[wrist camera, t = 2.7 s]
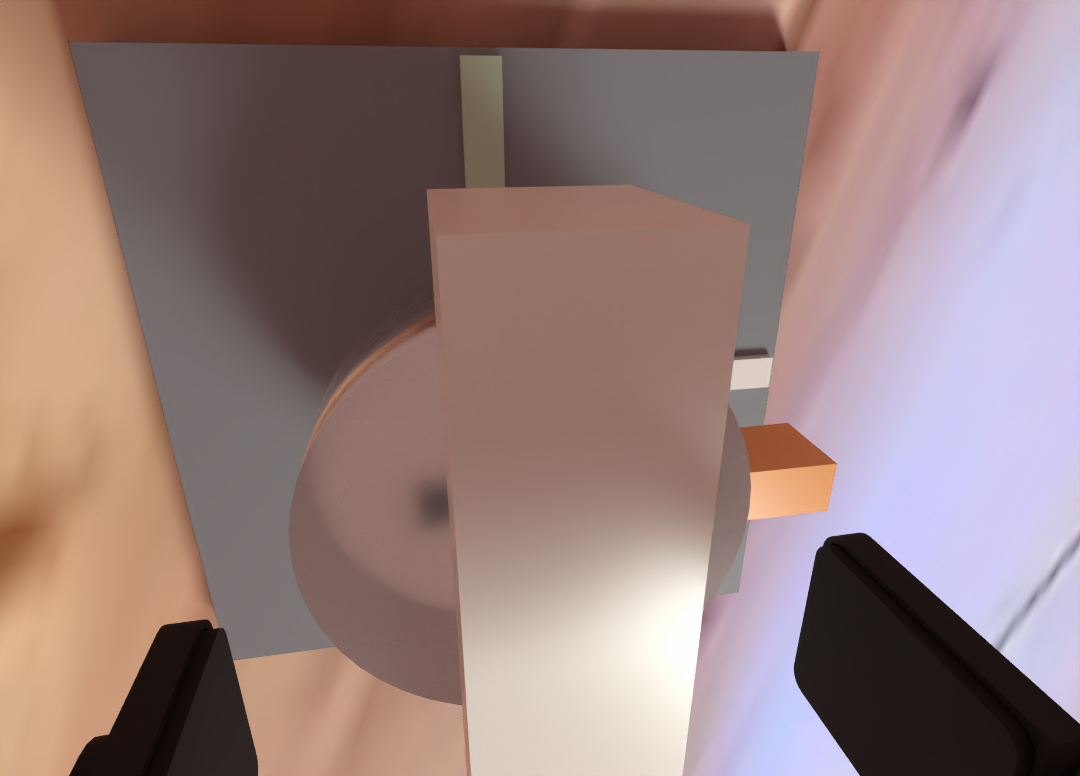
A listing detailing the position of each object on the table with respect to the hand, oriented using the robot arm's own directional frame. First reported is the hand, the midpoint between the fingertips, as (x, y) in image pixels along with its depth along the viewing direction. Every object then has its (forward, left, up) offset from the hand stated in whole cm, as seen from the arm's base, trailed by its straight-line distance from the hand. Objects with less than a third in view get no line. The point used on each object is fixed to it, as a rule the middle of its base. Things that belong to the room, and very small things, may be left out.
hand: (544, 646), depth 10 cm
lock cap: (-1, 0, -6) cm, 6 cm away
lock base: (0, 0, -12) cm, 11 cm away
